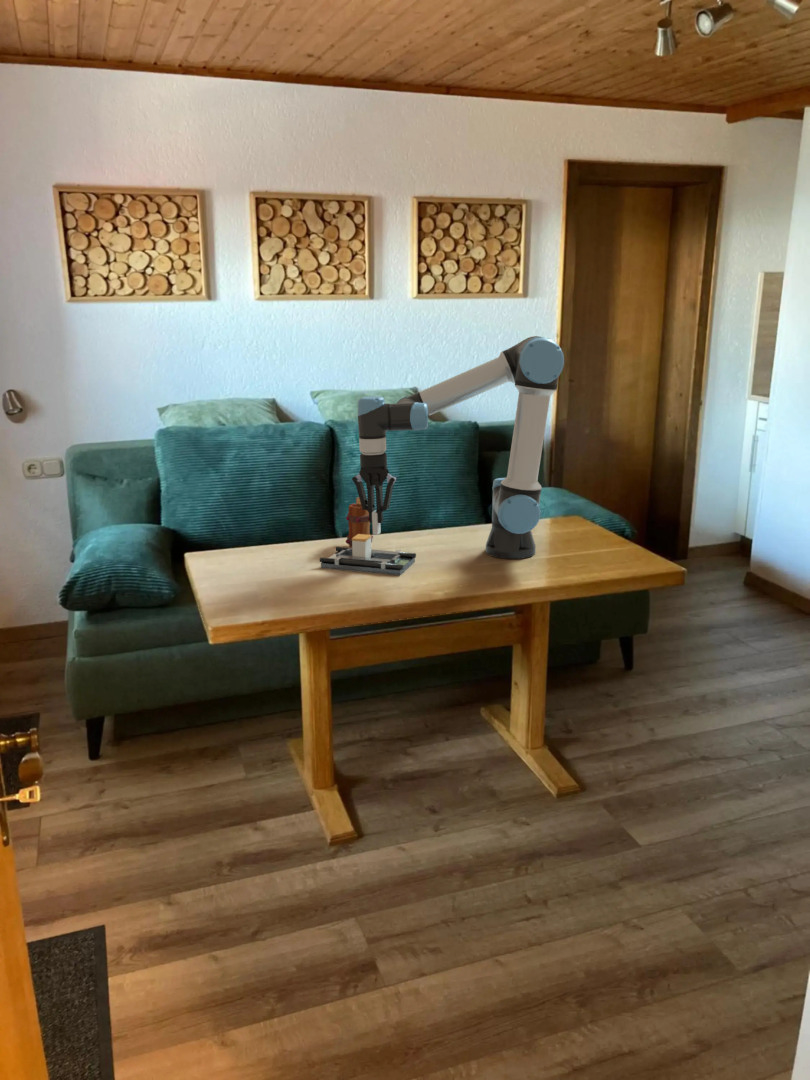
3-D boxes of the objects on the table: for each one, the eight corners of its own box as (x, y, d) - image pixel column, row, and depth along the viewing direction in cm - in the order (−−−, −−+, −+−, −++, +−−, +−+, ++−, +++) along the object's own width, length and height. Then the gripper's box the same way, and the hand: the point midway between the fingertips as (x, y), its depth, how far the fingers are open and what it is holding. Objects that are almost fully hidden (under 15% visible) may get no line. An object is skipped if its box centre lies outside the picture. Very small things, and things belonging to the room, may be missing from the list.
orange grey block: (371, 556, 251) (371, 534, 250) (365, 561, 247) (365, 539, 245) (358, 555, 253) (358, 533, 251) (352, 560, 248) (351, 538, 246)
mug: (371, 553, 261) (371, 505, 257) (345, 553, 261) (343, 505, 257) (374, 541, 275) (373, 495, 271) (349, 540, 275) (348, 495, 271)
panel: (416, 561, 252) (416, 551, 252) (401, 575, 239) (401, 565, 239) (337, 554, 260) (337, 545, 259) (319, 568, 247) (318, 557, 246)
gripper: (399, 450, 242) (402, 531, 248) (356, 449, 246) (360, 529, 252) (390, 455, 235) (394, 538, 241) (346, 454, 239) (351, 535, 245)
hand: (376, 533), depth 246 cm, fingers closed
